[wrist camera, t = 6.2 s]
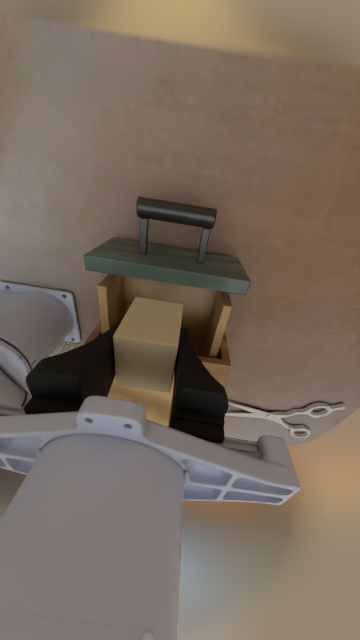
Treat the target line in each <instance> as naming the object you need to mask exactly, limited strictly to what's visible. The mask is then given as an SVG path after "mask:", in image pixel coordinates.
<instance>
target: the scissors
mask: <svg viewBox="0 0 360 640" xmlns="http://www.w3.org/2000/svg"><path fill="white" fill-rule="evenodd" d="M228 404H230V405H233V406H235V407H238V408H241V409H244V410H247V411H249V412H252V413H241V414H225V415H228V416H239V417H254V418H266V419H268V420H271V421H274V422H277V423H280V424H282V425H283V426H284V428H288V429H289V430H290V433H291V435H292V436H293V437H296V438H306V437H308V436H310V430H309V428H307V427H306V426H304V425H296V426H293V425H290V424H287V423H286V422H284V421H283V420H282V418H285V417H289V416H292V415H297V414H306V415H310V416H311V417H312V418H315V417H322V416H325V415H328V414H329V413H330V412H331V411H334V410H339V409H346V406H345V404H344V403H340V404H337V405H330V406H329V404H326V403H314V404H311V405H309V406H307V407H306V408H302V409H293V410H291V411H288V412H270V413H269V412H265V411H261V410H258V409H254V408H251V407H247V406H243V405H238V404H234V403H231V402H228ZM316 408H326V409H325V410H323V411H320V412H313V411H312V410H313V409H316ZM297 430H302V431H306V432H304V433H301V434H298V433H294V431H297Z"/></svg>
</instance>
